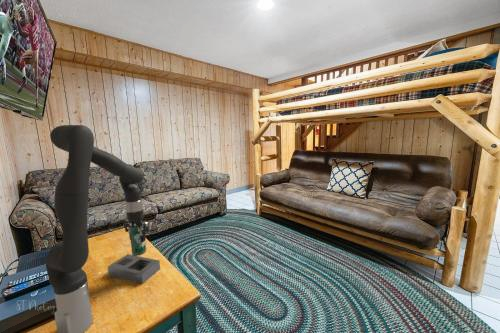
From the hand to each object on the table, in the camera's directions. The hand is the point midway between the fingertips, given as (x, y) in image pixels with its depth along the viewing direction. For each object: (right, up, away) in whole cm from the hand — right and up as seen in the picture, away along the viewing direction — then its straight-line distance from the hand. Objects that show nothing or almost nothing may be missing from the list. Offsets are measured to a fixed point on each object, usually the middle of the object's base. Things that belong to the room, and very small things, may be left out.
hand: (137, 240), depth 107 cm
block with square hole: (-4, -18, +4) cm, 19 cm away
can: (0, -7, +1) cm, 7 cm away
